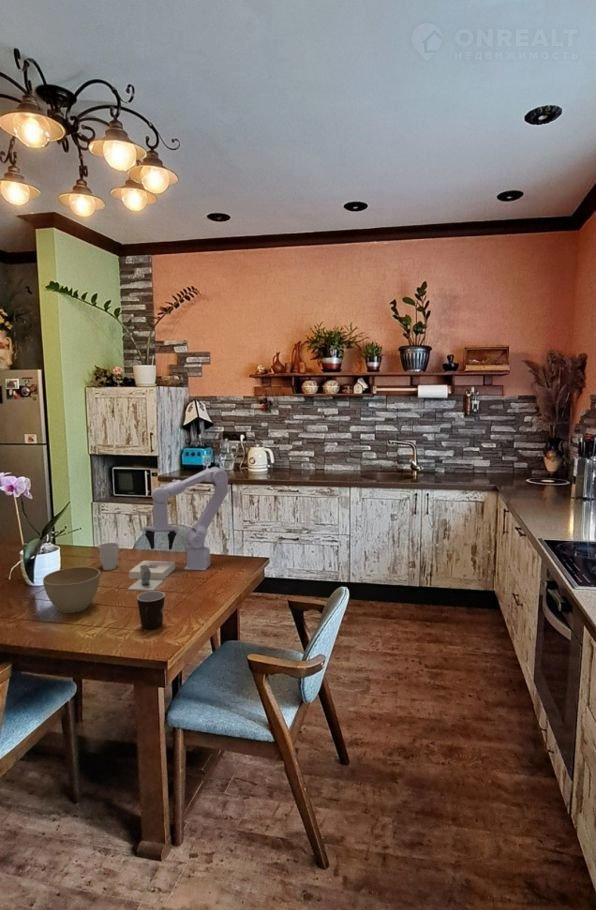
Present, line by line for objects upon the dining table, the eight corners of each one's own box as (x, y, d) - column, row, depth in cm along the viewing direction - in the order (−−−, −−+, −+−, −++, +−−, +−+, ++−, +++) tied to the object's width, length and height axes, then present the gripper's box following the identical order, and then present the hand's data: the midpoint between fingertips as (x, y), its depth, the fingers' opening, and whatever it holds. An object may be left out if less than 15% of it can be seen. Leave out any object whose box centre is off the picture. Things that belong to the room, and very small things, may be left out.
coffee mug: (149, 618, 179) (148, 589, 177) (171, 622, 175) (170, 593, 174) (125, 633, 168) (124, 602, 167) (148, 638, 165) (147, 606, 164)
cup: (106, 564, 234) (105, 542, 233) (123, 565, 232) (122, 543, 231) (95, 570, 226) (94, 547, 225) (112, 572, 224) (111, 548, 223)
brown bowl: (76, 595, 199) (75, 563, 197) (112, 604, 190) (111, 571, 189) (33, 613, 183) (31, 579, 181) (69, 624, 175) (67, 588, 173)
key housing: (175, 568, 228) (175, 561, 228) (162, 580, 215) (162, 572, 214) (143, 567, 230) (143, 560, 230) (129, 578, 216) (129, 571, 216)
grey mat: (163, 582, 212) (163, 580, 212) (153, 591, 203) (153, 589, 203) (139, 580, 214) (139, 579, 214) (127, 590, 204) (127, 588, 204)
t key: (151, 587, 205) (151, 570, 204) (143, 588, 204) (143, 572, 203) (147, 580, 212) (147, 564, 212) (140, 581, 211) (139, 565, 210)
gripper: (180, 514, 225) (181, 546, 227) (147, 514, 226) (148, 545, 228) (175, 518, 218) (176, 551, 220) (140, 518, 220) (141, 550, 221)
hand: (161, 548), depth 223 cm, fingers open, 7 cm apart
